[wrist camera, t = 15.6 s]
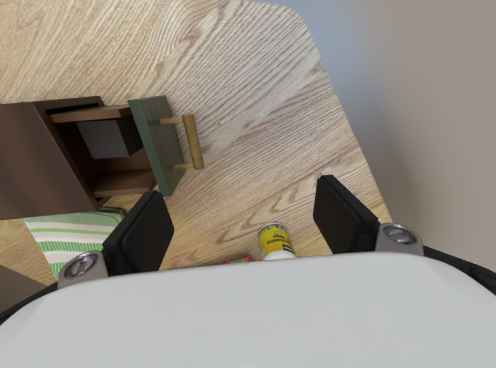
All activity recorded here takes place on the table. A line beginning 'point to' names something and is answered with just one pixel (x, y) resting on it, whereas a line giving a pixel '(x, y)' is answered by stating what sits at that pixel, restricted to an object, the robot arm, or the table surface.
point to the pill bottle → (275, 242)
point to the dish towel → (72, 234)
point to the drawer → (143, 161)
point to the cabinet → (40, 162)
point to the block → (111, 137)
